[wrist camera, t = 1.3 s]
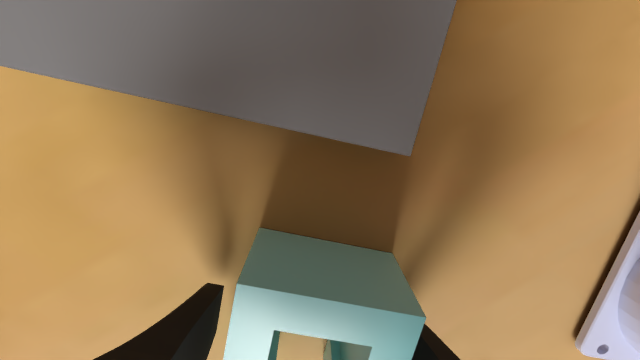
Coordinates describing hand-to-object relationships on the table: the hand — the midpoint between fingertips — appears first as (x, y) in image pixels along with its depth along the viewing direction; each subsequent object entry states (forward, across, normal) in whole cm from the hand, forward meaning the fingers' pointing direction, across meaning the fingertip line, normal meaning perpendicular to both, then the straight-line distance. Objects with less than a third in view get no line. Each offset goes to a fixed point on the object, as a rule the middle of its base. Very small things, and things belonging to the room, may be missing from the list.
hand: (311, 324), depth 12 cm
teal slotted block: (+2, 0, 0) cm, 2 cm away
